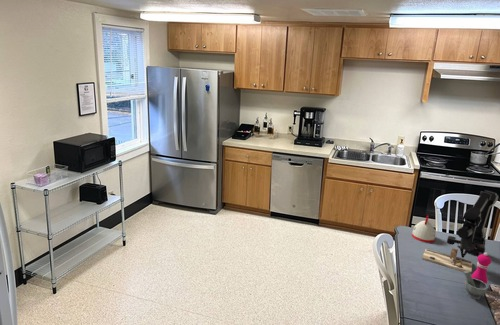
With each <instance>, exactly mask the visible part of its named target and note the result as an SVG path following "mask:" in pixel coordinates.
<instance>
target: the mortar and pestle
mask: <svg viewBox="0 0 500 325" xmlns="http://www.w3.org/2000/svg"><path fill="white" fill-rule="evenodd" d="M463 274H464V275H465V278H466V279H465V280H464V287H465V289H466V295H467V296H468V297H469V298H471V299H473V300H480V299H481V298H482V296H483V295H485V294H486V293H487V292H488V289H489V287H488V286H489V285H487V284H488V283H487V284H486V283H484V282H483V281H481V280H478V279H475V278H472V277H471V276H472V274H470V271H464V272H463Z"/></svg>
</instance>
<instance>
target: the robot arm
mask: <svg viewBox="0 0 500 325" xmlns="http://www.w3.org/2000/svg"><path fill="white" fill-rule="evenodd" d="M498 200H499V195H498V194H497V193H496V192H493V191H490V190H486V189H485V190H484V191H480V194H479V197H478V198H477V200H476V202H475V203H474V205H473V206H472V207H470V208H468V209H467V210H466V211H465V212H464V214H463V216H462V218H461V220H460V224H461V225H462V226H461V227H459V228H458V230H457V231H456V235H457V236H458V237H459V238H460V240H459V239H457V237H455V236H452V235H448V237H447V239H446V244H448V245H451V246H452V245H455V244H457V249H459V250H460V255H461V258H462V259H465V258H464V257H465V256H466V255H467V254H470V255H474V256H477V257H478V256H479V255H480V253H481V254H484V253H485V251H486V238H485V237H486V234H485V231H484V229H485V226H486V224H487V219H488V218H489V214H490V210H491V207H493V206H494V205H495V204H496V202H498Z"/></svg>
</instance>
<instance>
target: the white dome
mask: <svg viewBox="0 0 500 325" xmlns="http://www.w3.org/2000/svg"><path fill="white" fill-rule="evenodd" d="M436 234H437V233H436V229H435V228H434V226H433V224H432V223H431V222H430V221H429V215H426V217H425V220H421V221H419V222H418V223H417V224H416V223H415V225H414V226H413V229H412V232H411V237H412V238H413V239H415V240H416V241H419V242H422V243H434V242H435V240H436V236H437V235H436Z"/></svg>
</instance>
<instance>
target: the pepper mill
mask: <svg viewBox="0 0 500 325" xmlns="http://www.w3.org/2000/svg"><path fill="white" fill-rule="evenodd" d="M476 260H477V263H476V265H477V266H476V270H474V272H473V273H471V277H472V278H475V279H478V280H481V281H483V282H484V283H486V284H488V275H487V270H488V269H489V266H490V264H491V263H492V258H491V257H490V255H489V253H488V252H487V251H486V252H484V253H481V254H480V255H479V256H477V258H476Z"/></svg>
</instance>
